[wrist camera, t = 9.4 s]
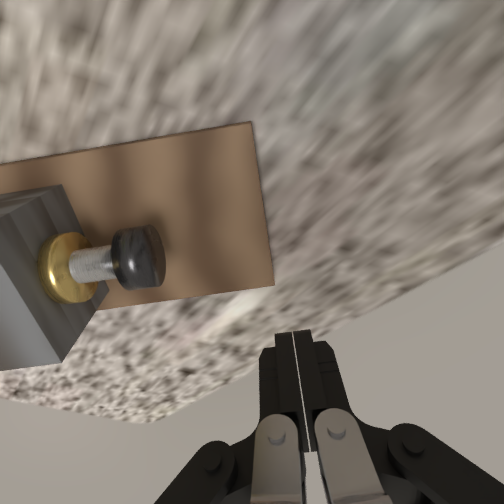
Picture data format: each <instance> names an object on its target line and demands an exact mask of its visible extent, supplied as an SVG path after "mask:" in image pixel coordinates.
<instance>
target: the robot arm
mask: <svg viewBox="0 0 504 504" xmlns="http://www.w3.org/2000/svg"><path fill="white" fill-rule="evenodd" d="M293 334H294V341H295V348H296V355H297V361H298V367H299V374H300V381H301V388H302V394H303V401H304V407H305V414H306V420H307V427H308V433H309V439H310V446H311V452H314V451H317V454H318V460H319V465H320V474H321V479H322V483H323V487H324V492H325V496H326V500H327V504H504V484H502V483H501V482H499V481H498V480H496V479H495V478H494V477H492V476H491V475H489V474H488V473H486V472H485V471H483V470H482V469H480V468H479V467H478V466H476V465H475V464H473V463H472V462H471V461H469V460H468V459H466V458H465V457H463V456H462V455H461V454H459V453H458V452H456V451H455V450H453V449H452V448H451V447H449V446H448V445H446V444H445V443H443V442H442V441H440V440H439V439H437V438H436V437H435V436H433V435H432V434H430V433H429V432H428V431H426V430H425V429H423V428H421V427H419V426H417V425H414V424H409V423H403V424H399V425H396V426H394V427H393V428H392V429H391V430H386V429H382V428H377V427H373V426H370V425H367V424H365V423H364V422H362V421H361V420H359V419H358V418H357V417H356V416H355V415H354V413H353V412H352V410H351V408H350V406H349V402H348V399H347V395H346V392H345V388H344V385H343V382H342V378H341V375H340V372H339V368H338V365H337V362H336V358H335V354H334V351H333V349H332V348H331V347H330V345H329V344H328V343H327V342H326V341H318V342H313V339H312V335H311V330H310V329H308V330H301V331H293ZM259 380H260V381H259V391H260V419H259V423H258V426H257V428H256V429H255V430H254V432H253V433H252V434H251V435H250V436H248V437H247V438H246V439H244V440H242V441H240V442H237V443H235V444H233V445H231V446H229V445H228V444H227V443H225V442H222V441H212V442H209V443H207V444H205V445H203V446H202V447H201V448H200V449H199V450H198V452H196V454H195V455H194V456H193V457H192V459H191V460H190V461H189V462H188V463H187V465H186V466H185V467H184V468H183V469H182V470H181V472H180V473H179V474H178V475H177V477H176V478H175V479H174V480H173V481H172V482H171V484H170V485H169V486H168V487H167V489H166V490H165V491H164V492H163V493H162V495H161V496H160V497H159V498H158V499H157V501H156V502H155V503H154V504H307V494H306V478H305V477H306V466H305V458H304V452H309V446H308V439H307V432H306V425H305V419H304V413H303V406H302V398H301V392H300V385H299V378H298V371H297V365H296V358H295V351H294V345H293V338H292V332H285V333H277V334H275V347H270V348H264V349H263V351H262V353H261V355H260V357H259Z"/></svg>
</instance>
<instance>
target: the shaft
mask: <svg viewBox="0 0 504 504" xmlns="http://www.w3.org/2000/svg"><path fill="white" fill-rule="evenodd" d="M36 262H37V267H38V275H39V279H40V282H41V284H42V286H43V288H44V290H45V292H46V293H47V294H48V296H49V297H50V298H51V299H52V300H54V301H55V302H57V303H60V304H72V303H79V302H85V301H87V300H89V299H90V298H91V297H92V296H93V295H94V293H95V292H96V289H97V287H98V283H99V281H102V280H109V279H116V278H117V280H118V282H119V283H120V285H121V286H122V287H123V288H124V289H126V290H128V291H132V290H139V289H146V288H153V287H159V286H161V285H162V284H163V282H164V279H165V274H166V258H165V251H164V247H163V243H162V240H161V237H160V235H159V233H158V231H157V230H156V228H155V227H154V226H152V225H150V224H148V225H142V226H136V227H129V228H123V229H119V230H117V231H116V232H115V234H114V236H113V239H112V243H111V245H107V246H100V247H94V248H93V246H92V245H91V243H90V242H89V240H88V239H87V238H86V237H85V236H83V235H82V234H80V233H77V232H69V233H63V234H56V235H52V236H50V237H48V238H47V239H46V240H45V241H44V242H43V244H42V246H41V248H40V250H39V254H38V261H36Z"/></svg>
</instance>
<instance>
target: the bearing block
mask: <svg viewBox="0 0 504 504" xmlns="http://www.w3.org/2000/svg"><path fill="white" fill-rule="evenodd" d="M148 224H150V225H152V226H154V227H155V228H156V230H157V231H158V233H159V235H160V237H161V240H162V243H163V247H164V251H165V258H166V274H165V279H164V282H163V284H162V285H161V286H159V287H153V288H146V289H139V290H132V291H128V290H126V289H124V288H123V287H122V286H121V285H120V283H119V282H118V280H117V278H116V279H109V280H102V281H99V283H98V287H97V289H96V292H95V293H94V295H93V296H92V297H91V298H90V299H89V300H87V301H85V302H79V303H72V304H60V303H57V302H55V301H54V300H52V299H51V298H50V297H49V296H48V294H47V293H46V292H45V290H44V288H43V286H42V284H41V282H40V279H39V275H38V267H37V262H36V261H38V254H39V250H40V248H41V246H42V244H43V242H44V241H45V240H46V239H47V238H48V237H50V236H52V235H56V234H63V233H69V232H77V233H80V234H82V235H83V236H85V237H86V238H87V239H88V240H89V242H90V243H91V245H92V246H93V248H94V247H100V246H107V245H111V243H112V239H113V236H114V234H115V232H116V231H117V230H119V229H123V228H129V227H136V226H142V225H148ZM274 285H275V281H274V275H273V268H272V261H271V254H270V248H269V241H268V234H267V227H266V221H265V214H264V207H263V200H262V194H261V187H260V180H259V173H258V167H257V160H256V153H255V146H254V139H253V133H252V126H251V121H248V122H242V123H236V124H231V125H225V126H219V127H213V128H207V129H201V130H196V131H190V132H184V133H178V134H172V135H166V136H161V137H155V138H149V139H143V140H137V141H132V142H126V143H120V144H114V145H108V146H102V147H97V148H91V149H85V150H79V151H73V152H67V153H62V154H56V155H50V156H44V157H38V158H33V159H27V160H21V161H15V162H9V163H3V164H0V371H4V370H12V369H19V368H27V367H34V366H42V365H49V364H57V363H62V362H63V360H64V359H65V357H66V356H67V354H68V353H69V351H70V350H71V348H72V347H73V345H74V344H75V342H76V341H77V339H78V337H79V336H80V334H81V333H82V331H83V330H84V328H85V327H86V325H87V324H88V322H89V321H90V319H91V318H92V316H93V315H94V313H95V312H96V311H97V310H104V309H111V308H118V307H125V306H132V305H139V304H146V303H154V302H161V301H168V300H175V299H182V298H189V297H196V296H203V295H210V294H218V293H225V292H232V291H239V290H246V289H253V288H260V287H267V286H274Z"/></svg>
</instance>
